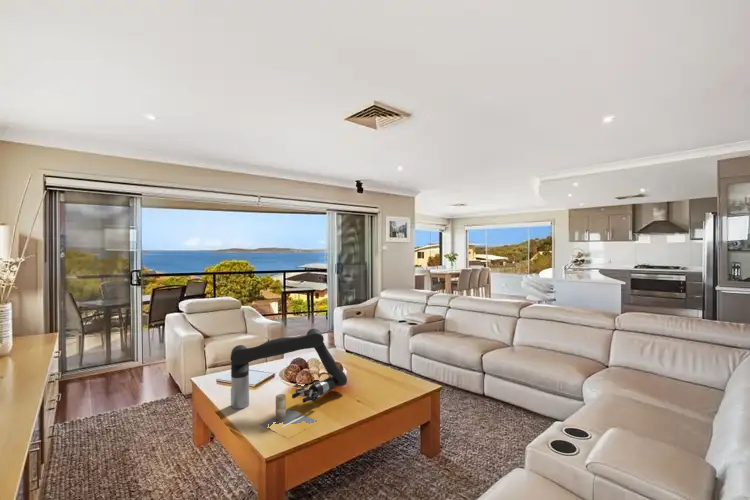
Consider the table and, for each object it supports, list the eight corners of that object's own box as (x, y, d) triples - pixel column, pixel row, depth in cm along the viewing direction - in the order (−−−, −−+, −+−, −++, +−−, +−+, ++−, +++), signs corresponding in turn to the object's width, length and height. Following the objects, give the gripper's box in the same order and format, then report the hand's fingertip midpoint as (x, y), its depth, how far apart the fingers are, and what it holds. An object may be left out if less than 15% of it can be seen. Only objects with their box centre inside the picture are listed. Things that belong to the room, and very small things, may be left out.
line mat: (259, 425, 187) (259, 424, 187) (290, 410, 203) (290, 409, 203) (288, 440, 174) (288, 438, 174) (319, 422, 190) (319, 421, 190)
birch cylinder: (273, 419, 192) (273, 396, 192) (281, 415, 196) (281, 393, 196) (280, 422, 189) (279, 399, 189) (287, 418, 193) (287, 395, 193)
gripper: (310, 379, 219) (288, 388, 206) (328, 385, 210) (306, 395, 197) (310, 392, 219) (289, 402, 206) (328, 398, 210) (306, 409, 197)
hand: (297, 398), depth 202 cm, fingers open, 8 cm apart
